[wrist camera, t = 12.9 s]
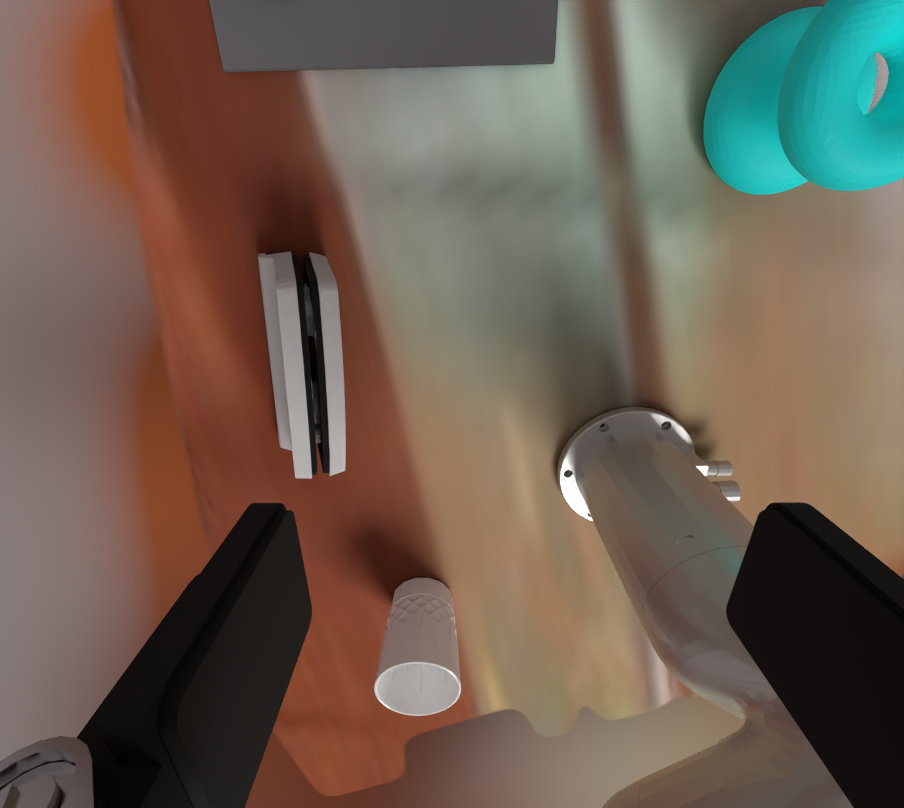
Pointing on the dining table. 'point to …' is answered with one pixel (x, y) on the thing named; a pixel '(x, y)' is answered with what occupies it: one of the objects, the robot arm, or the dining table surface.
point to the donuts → (811, 101)
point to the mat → (382, 33)
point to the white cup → (419, 650)
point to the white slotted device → (305, 359)
